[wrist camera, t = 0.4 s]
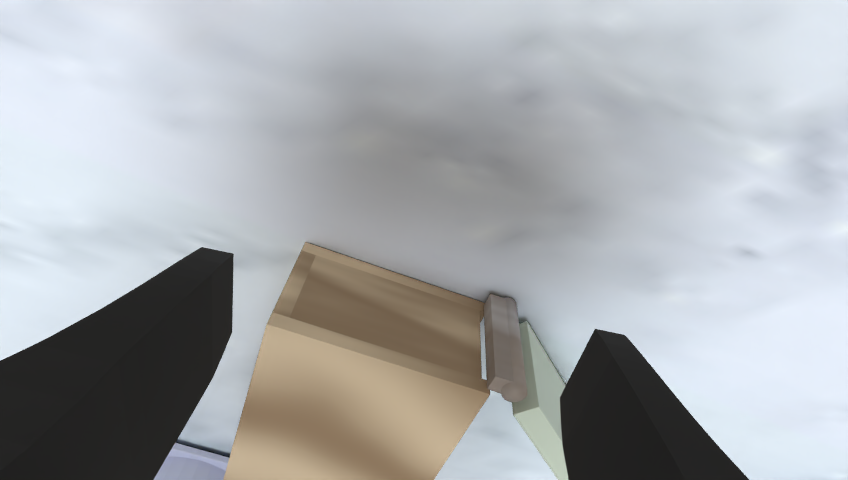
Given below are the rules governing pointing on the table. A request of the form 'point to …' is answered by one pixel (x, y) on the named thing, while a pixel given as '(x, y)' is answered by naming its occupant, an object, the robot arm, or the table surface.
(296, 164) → the table surface
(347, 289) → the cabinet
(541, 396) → the door
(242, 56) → the table surface
